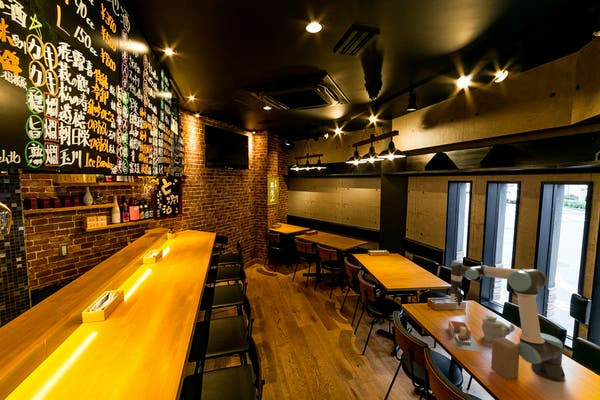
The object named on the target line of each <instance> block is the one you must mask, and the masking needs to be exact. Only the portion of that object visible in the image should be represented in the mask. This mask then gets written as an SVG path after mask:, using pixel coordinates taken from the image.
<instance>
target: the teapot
mask: <svg viewBox="0 0 600 400" xmlns="http://www.w3.org/2000/svg"><path fill="white" fill-rule="evenodd" d="M497 319H498V317H494V316H493V315H485V317H483V318H482V324H481V330H482V332H483V336H484V340H485V342H489V343H492V340H493V339H497V338H502V337H504V338H506V337H507V336H508V335H510V334H511V333H513V332H514V331H515V329H516V328H515V325H514V324H513V323H510V326H508V325H507V324H506V323H505V322H502V321H500V320H499V319H498V320H497Z"/></svg>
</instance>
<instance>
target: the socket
mask: <svg viewBox="0 0 600 400" xmlns="http://www.w3.org/2000/svg"><path fill="white" fill-rule="evenodd" d="M455 338H456V340H457V342H458V343H461V344H468V345H471V342H470V340H469V339H468V337H467V336H466V340H467V341H464V340H459V338H460V335H457V334H455Z"/></svg>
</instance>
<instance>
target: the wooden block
mask: <svg viewBox="0 0 600 400" xmlns="http://www.w3.org/2000/svg"><path fill="white" fill-rule="evenodd" d="M491 344H492V345H491V364H490V365H491V367H490V368H491V369H492V371H493V372H495V373H497V374H498V375H499V376H501V377H502V378H504V379H505V380H510V379H513V378H517V377H518V376H519V368H520V367H519V365H520V364H519V363H520V355H519V349H520V347H519V345H517V344H518V343H515V342H513V341H511V340H509V339H508V338H506V337H505V338H504V337H502V338H497V339H493V340H492V342H491Z"/></svg>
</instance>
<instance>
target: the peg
mask: <svg viewBox="0 0 600 400" xmlns="http://www.w3.org/2000/svg"><path fill="white" fill-rule="evenodd" d="M459 340H464V341H466V328H465V327H463V326H460V339H459Z"/></svg>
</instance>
